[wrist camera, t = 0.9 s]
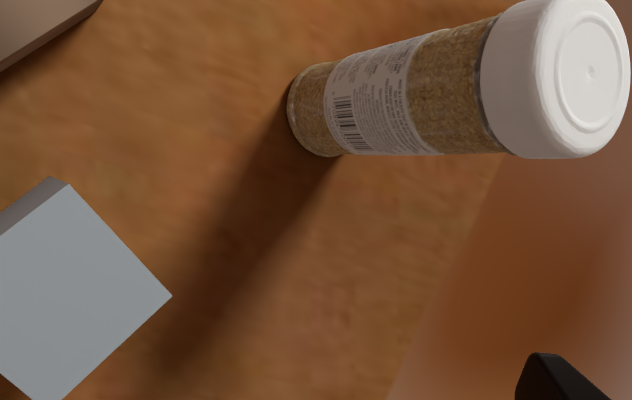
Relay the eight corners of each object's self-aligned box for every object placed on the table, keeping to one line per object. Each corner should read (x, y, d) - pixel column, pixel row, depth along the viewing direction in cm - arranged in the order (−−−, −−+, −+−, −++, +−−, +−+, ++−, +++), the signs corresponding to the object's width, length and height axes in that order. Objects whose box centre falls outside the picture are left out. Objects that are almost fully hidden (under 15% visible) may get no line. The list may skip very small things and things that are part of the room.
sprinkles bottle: (368, 145, 27) (643, 139, 15) (292, 166, 25) (549, 177, 13) (352, 55, 26) (632, -22, 15) (272, 69, 24) (529, -10, 12)
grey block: (34, 345, 20) (47, 412, 14) (-63, 259, 18) (-87, 301, 13) (130, 261, 21) (172, 295, 16) (49, 175, 19) (68, 183, 14)
